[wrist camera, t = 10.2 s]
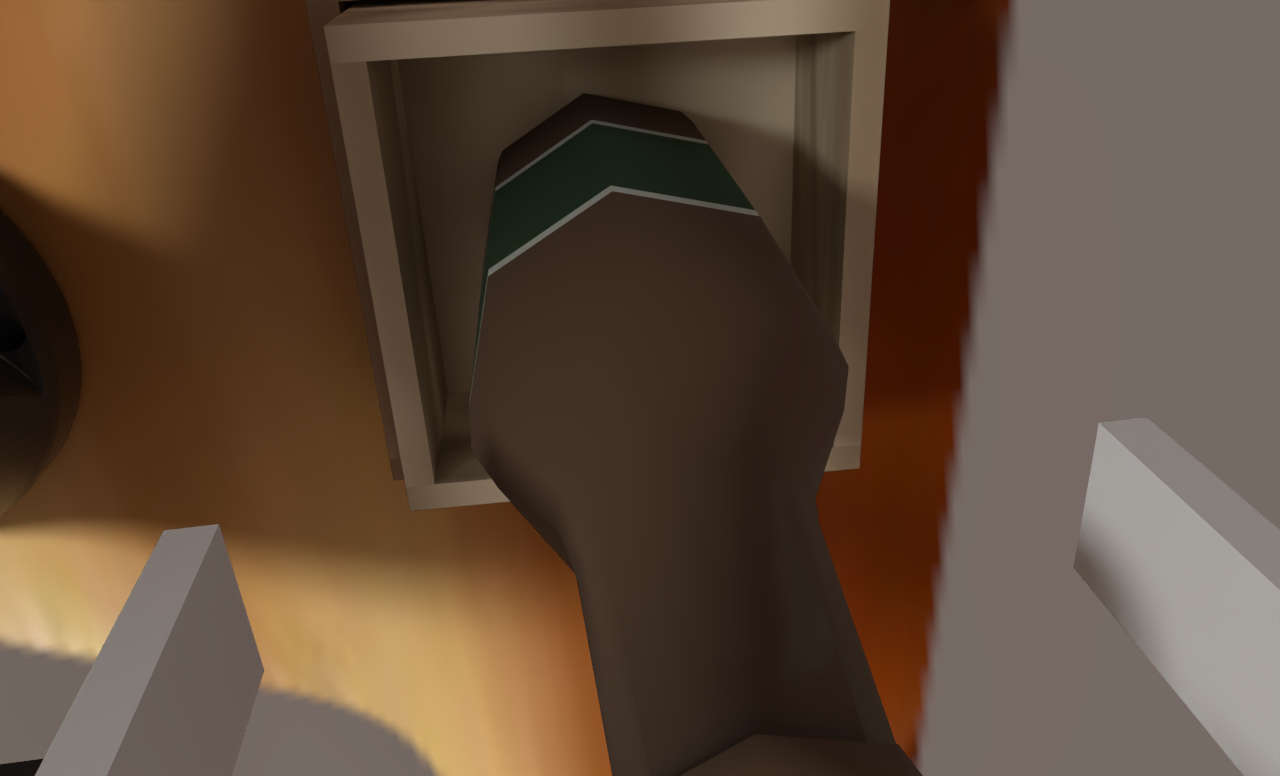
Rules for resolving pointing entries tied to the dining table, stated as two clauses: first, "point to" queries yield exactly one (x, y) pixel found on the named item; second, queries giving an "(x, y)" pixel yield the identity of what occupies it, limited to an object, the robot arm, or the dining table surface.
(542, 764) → the dining table surface
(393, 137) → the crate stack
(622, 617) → the beer bottle
